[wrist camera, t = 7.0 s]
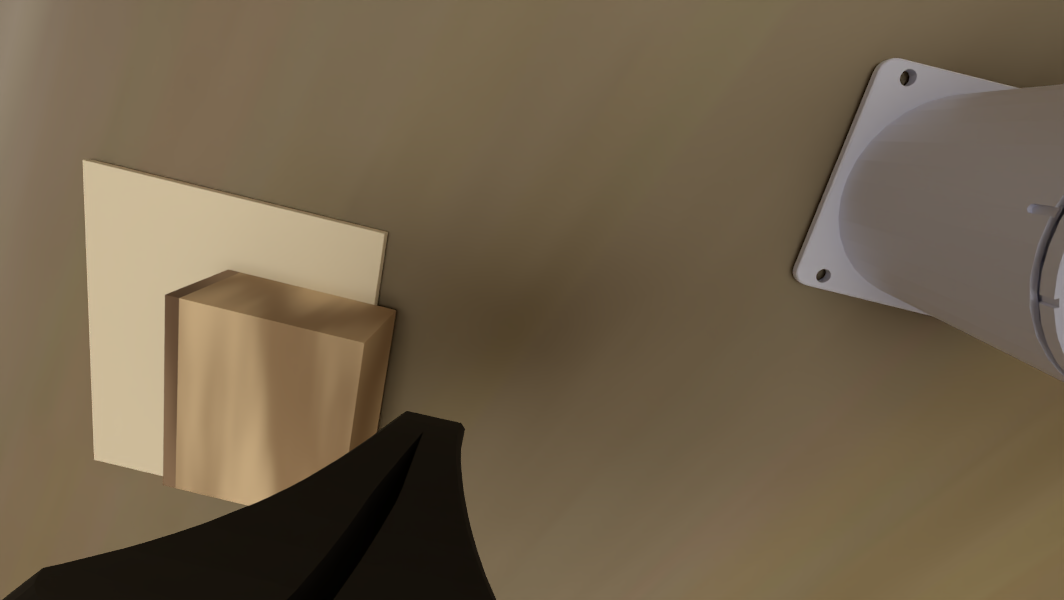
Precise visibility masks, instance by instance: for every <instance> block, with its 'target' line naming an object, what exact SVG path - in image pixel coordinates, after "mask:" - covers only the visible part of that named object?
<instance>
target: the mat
mask: <svg viewBox="0 0 1064 600" xmlns="http://www.w3.org/2000/svg"><path fill="white" fill-rule="evenodd" d="M83 180H84V206H85V232H86V258H87V284H88V310H89V336H90V362H91V388H92V415H93V441H94V460H98V461H102V462H106V463H111V464H115V465H119V466H123V467H127V468H131V469H136V470H140V471H144V472H148V473H152V474H156V475H160V476H163V432H164V335H165V294H168V293H170V292H173V291H175V290H178V289H180V288H183V287H186V286H188V285H191V284H193V283H196V282H198V281H201V280H203V279H206V278H208V277H211V276H213V275H216V274H218V273H221V272H223V271H226V270H228V269H229V270H233V271H237V272H241V273H245V274H249V275H253V276H257V277H262V278H266V279H270V280H274V281H278V282H282V283H286V284H290V285H294V286H299V287H303V288H307V289H311V290H315V291H319V292H323V293H327V294H331V295H336V296H340V297H344V298H348V299H352V300H356V301H360V302H364V303H368V304H373V305H377V303H378V297H379V290H380V283H381V276H382V270H383V263H384V256H385V249H386V243H387V236H388V232H386V231H382V230H378V229H374V228H370V227H366V226H362V225H357V224H353V223H349V222H345V221H341V220H337V219H333V218H329V217H325V216H321V215H317V214H313V213H309V212H304V211H300V210H296V209H292V208H288V207H284V206H280V205H276V204H272V203H268V202H264V201H260V200H255V199H251V198H247V197H243V196H239V195H235V194H231V193H227V192H223V191H219V190H215V189H211V188H207V187H202V186H198V185H194V184H190V183H186V182H182V181H178V180H174V179H170V178H166V177H162V176H158V175H153V174H149V173H145V172H141V171H137V170H133V169H129V168H125V167H121V166H117V165H113V164H109V163H105V162H100V161H96V160H92V159H89V160H83Z"/></svg>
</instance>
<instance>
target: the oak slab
mask: <svg viewBox="0 0 1064 600" xmlns="http://www.w3.org/2000/svg"><path fill="white" fill-rule="evenodd" d="M395 316H396V310H393V309H389V308H385V307H381V306H377V305H373V304H368V303H364V302H360V301H356V300H352V299H348V298H344V297H340V296H336V295H331V294H327V293H323V292H319V291H315V290H311V289H307V288H303V287H299V286H294V285H290V284H286V283H282V282H278V281H274V280H270V279H266V278H262V277H257V276H253V275H249V274H245V273H241V272H237V271H233V270H229V269H228V270H226V271H223V272H221V273H218V274H216V275H213V276H211V277H208V278H206V279H203V280H201V281H198V282H196V283H193V284H191V285H188V286H186V287H183V288H180V289H178V290H175V291H173V292H170V293H168V294H165V335H164V432H163V485H165V486H169V487H173V488H177V489H182V490H186V491H190V492H194V493H198V494H202V495H207V496H211V497H215V498H219V499H223V500H227V501H232V502H236V503H240V504H244V505H248V506H249V505H252V504H254V503H257V502H259V501H261V500H263V499H266V498H268V497H270V496H272V495H274V494H276V493H278V492H280V491H282V490H284V489H287V488H289V487H291V486H292V485H294V484H296V483H298V482H300V481H302V480H304V479H305V478H307V477H309V476H311V475H312V474H314V473H316V472H317V471H319V470H321V469H322V468H324V467H326V466H327V465H329V464H331V463H332V462H334V461H336V460H337V459H339V458H340V457H342V456H344V455H345V454H347V453H348V452H349V451H351V450H352V449H354V448H355V447H357V446H358V445H360V444H361V443H363V442H364V441H366V440H367V439H369V438H370V437H371V436H373V435H374V434H376V433H377V428H378V422H379V416H380V409H381V403H382V397H383V391H384V384H385V378H386V372H387V366H388V359H389V353H390V347H391V341H392V334H393V328H394V322H395Z"/></svg>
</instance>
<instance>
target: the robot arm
mask: <svg viewBox="0 0 1064 600" xmlns="http://www.w3.org/2000/svg"><path fill="white" fill-rule="evenodd" d="M904 71H906V72H908V74H909V81H908V83H907V84H906V85H905V86H903V85H902V84H901V82H900V76H901V74H902V73H903V72H904ZM822 269H825V270H826V275H825V276H824V277H823V278H822V279H820V280H817V279H816V274H817V273H818V271H820V270H822ZM793 276H794V278H795V279H796V280H797V281H798V282H800V283H802V284H804V285H807V286H811V287H815V288H819V289H824V290H828V291H832V292H836V293H840V294H844V295H848V296H852V297H856V298H860V299H864V300H868V301H872V302H876V303H881V304H885V305H889V306H893V307H897V308H901V309H905V310H909V311H913V312H917V313H921V314H925V315H929V316H933V317H935V318H937V319H939V320H941V321H943V322H945V323H947V324H949V325H951V326H953V327H955V328H957V329H959V330H961V331H963V332H965V333H967V334H969V335H971V336H973V337H975V338H977V339H979V340H981V341H983V342H985V343H987V344H989V345H991V346H993V347H995V348H997V349H999V350H1001V351H1003V352H1005V353H1007V354H1009V355H1011V356H1013V357H1015V358H1017V359H1019V360H1021V361H1023V362H1025V363H1027V364H1029V365H1031V366H1033V367H1035V368H1037V369H1039V370H1041V371H1043V372H1045V373H1047V374H1049V375H1051V376H1053V377H1055V378H1057V379H1059V380H1061V381H1063V382H1064V84H1059V85H1049V86H1039V87H1029V88H1017V87H1013V86H1009V85H1005V84H1001V83H997V82H993V81H989V80H985V79H981V78H977V77H973V76H969V75H965V74H961V73H957V72H953V71H949V70H945V69H941V68H937V67H933V66H929V65H925V64H921V63H917V62H913V61H909V60H905V59H901V58H891V59H887V60H885V61H882V62H881V63H880V64H878V65H877V66H876V68H875V70H874V71H873V74H872V76H871V78H870V81H869V83H868V86H867V88H866V91H865V93H864V96H863V98H862V101H861V103H860V105H859V108H858V110H857V113H856V115H855V118H854V120H853V123H852V125H851V128H850V130H849V133H848V135H847V137H846V140H845V142H844V145H843V147H842V150H841V152H840V155H839V157H838V160H837V162H836V164H835V167H834V169H833V172H832V174H831V177H830V179H829V182H828V184H827V187H826V189H825V191H824V194H823V196H822V199H821V201H820V204H819V206H818V209H817V211H816V214H815V216H814V218H813V221H812V223H811V226H810V228H809V231H808V233H807V236H806V238H805V241H804V243H803V246H802V248H801V250H800V253H799V255H798V258H797V260H796V263H795V265H794V268H793ZM464 431H465V428H464V427H463V425H462V424H461V423H458V422H454V421H449V420H445V419H440V418H436V417H431V416H427V415H422V414H418V413H413V412H409V411H406V412H405V413H403V414H401V415H400V416H398V417H397V418H396V419H394V420H393V421H392V422H390V423H389V424H388V425H386V426H385V427H384V428H382V429H381V430H380V431H378V432H377V433H376V434H374V435H373V436H371V437H370V438H369V439H367V440H366V441H364V442H363V443H361V444H360V445H358V446H357V447H355V448H354V449H352V450H351V451H349V452H348V453H347V454H345V455H344V456H342V457H340V458H339V459H337V460H336V461H334V462H332V463H331V464H329V465H327V466H326V467H324V468H322V469H321V470H319V471H317V472H316V473H314V474H312V475H311V476H309V477H307V478H305V479H304V480H302V481H300V482H298V483H296V484H294V485H292V486H291V487H289V488H287V489H284V490H282V491H280V492H278V493H276V494H274V495H272V496H270V497H268V498H266V499H263V500H261V501H259V502H257V503H254V504H252V505H249V506H247V507H244V508H242V509H239V510H237V511H234V512H232V513H229V514H227V515H224V516H222V517H219V518H217V519H214V520H212V521H209V522H207V523H204V524H201V525H198V526H195V527H192V528H189V529H186V530H183V531H180V532H177V533H174V534H171V535H168V536H165V537H161V538H158V539H155V540H152V541H148V542H145V543H142V544H138V545H135V546H131V547H128V548H124V549H120V550H116V551H112V552H108V553H104V554H100V555H96V556H92V557H88V558H84V559H80V560H76V561H72V562H67V563H63V564H59V565H54V566H50V567H45V568H43V569H41V570H40V571H39V572H37V573H36V574H35V575H33V576H32V577H31V578H29V579H28V580H27V581H25V582H24V583H23V584H22V585H20V586H19V587H18V588H16V589H15V590H14V591H13V592H11V593H10V594H9V595H7V596H6V597H5V598H4V599H3V600H496V598H495V596H494V594H493V591H492V589H491V587H490V584H489V582H488V579H487V577H486V575H485V572H484V569H483V566H482V563H481V560H480V557H479V555H478V552H477V548H476V545H475V541H474V538H473V534H472V531H471V527H470V522H469V518H468V513H467V508H466V503H465V497H464V491H463V482H462V472H461V446H462V441H463V436H464Z"/></svg>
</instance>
